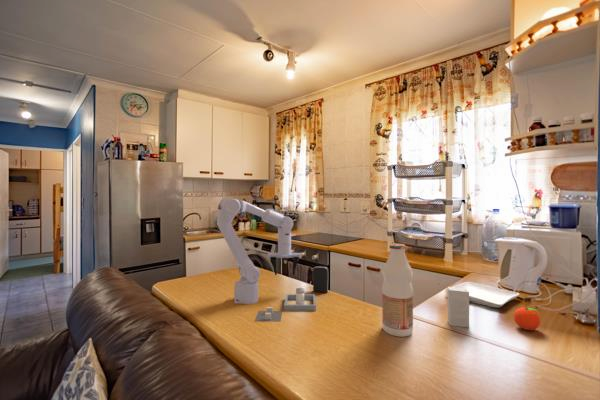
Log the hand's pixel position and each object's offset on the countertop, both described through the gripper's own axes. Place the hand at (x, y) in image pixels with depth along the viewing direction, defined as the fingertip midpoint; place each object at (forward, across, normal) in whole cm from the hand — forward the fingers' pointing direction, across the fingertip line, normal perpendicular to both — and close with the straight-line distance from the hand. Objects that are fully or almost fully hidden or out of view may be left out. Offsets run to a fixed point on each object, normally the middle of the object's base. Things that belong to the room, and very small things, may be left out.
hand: (284, 274), depth 128 cm
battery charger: (+10, +16, +6) cm, 20 cm away
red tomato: (+10, +82, -31) cm, 88 cm away
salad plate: (+10, +84, -2) cm, 85 cm away
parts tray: (+9, +7, -12) cm, 17 cm away
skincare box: (+10, +61, -27) cm, 67 cm away
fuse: (+9, +7, -12) cm, 17 cm away
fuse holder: (+9, -4, -23) cm, 25 cm away
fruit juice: (+10, +39, -32) cm, 51 cm away
